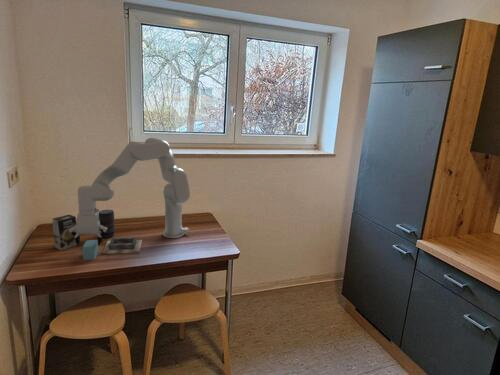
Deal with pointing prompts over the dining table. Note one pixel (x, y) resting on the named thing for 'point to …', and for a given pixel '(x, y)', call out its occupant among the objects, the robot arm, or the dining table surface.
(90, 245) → the key block
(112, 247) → the keyed nest
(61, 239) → the coffee box
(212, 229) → the dining table surface
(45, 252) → the dining table surface
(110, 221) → the camera lens
